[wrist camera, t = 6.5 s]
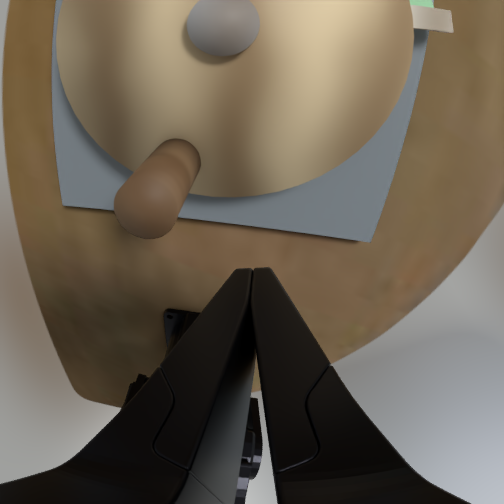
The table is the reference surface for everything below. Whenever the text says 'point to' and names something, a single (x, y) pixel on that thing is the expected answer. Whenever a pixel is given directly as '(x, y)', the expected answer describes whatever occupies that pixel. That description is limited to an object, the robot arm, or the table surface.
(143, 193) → the dial
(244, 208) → the plate
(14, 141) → the table surface
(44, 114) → the table surface
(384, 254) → the table surface
